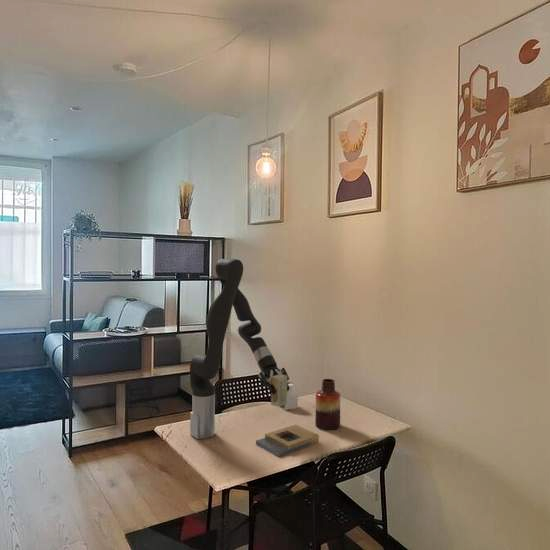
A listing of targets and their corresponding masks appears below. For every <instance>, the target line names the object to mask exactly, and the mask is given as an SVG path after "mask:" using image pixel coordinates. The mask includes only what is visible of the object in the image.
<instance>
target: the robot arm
mask: <svg viewBox="0 0 550 550" xmlns="http://www.w3.org/2000/svg"><path fill="white" fill-rule="evenodd" d="M214 268H215V273H216V277H217V278H218V280H219V283H220V284H221V285H222V286H223V287H222V290H221V291H220V293H219V294H218V295H217V296H216V298H215V299H214V300H213V302H212V303H211V304H210V307H209V309H208V312H207V316H206V320H205V328H206V335H207V337H208V345H207V351H206V354H202V353H198V354H196V355H194V356H193V357H191V358H192V359H191V360H190V364H189V381H190V382H189V383H190V389H191V390H192V394H191V395H192V401H191V403H192V407H191V408H192V409H191V410H192V411H190V416H189V417H190V418H189V421H190V423H189V425H190V427H189V433H190V436H192V437H193V438H195V439H197V440H200V439H203V440H204V439H210V438H212V437H214V436H215V431H216V430H215V429H216V428H215V426H216V425H215V424H216V422H215V421H216V417H215V416H216V415H215V413H216V412H215V411H216V387H215V385H214V384H212V382H211V380H213V379H214V378H215V377H216V376H217V375H218V373H219V369H220V366H221V358H222V353H223V346H224V342H225V337H226V333H227V332H226V331H227V329H228V326H229V321H230V318H231V314H232V308H233V309H234V312H235V316H236V318H237V320H238V321H239V322H244V323H242V324H241V325H239V326H238V327H237V328H238V329H237V332H238V335H239V336H240V338H241V339H242V340H243V341H244V342H245V343H246V344H247V345H248V346H249V348H250V350H251V352H252V354H253V357H254V359H255V361H256V364H257V365H258V367H259V369H260V372H259V373H258V375H257V379H259V381H260V383H261V385H262V386H263V388H265V387H267V388H268V390H269V391H270V394H271V393H272V394H273V395H274V394H276V390H275V388H274V386H273V385H272V382H271V377H272V376H275V375H278V374H282V375H287V382H288V381H289V380H290V377H289V375H288V372H287V371H286V368H285V367H282V368H279V367H278V363H277V362H276V359H275V358H274V355H273V353H272V352H271V350H270V349H269V348H268V347H269V346H268V345H267V344H266V342H265V340H264V338H263V337H260V336H257V335H260V333H261V332H262V326H261V324H260V322H259V321H258V320H257V318H256V317H255V316H254V314H253V311H252V309H251V308H252V307H251V305H250V302H249V301H248V299H247V297H246V296H245V294H244V293H243V292H242V291H241V290H240V289H239V287H240V286H239V285H240V284H241V280H242V277H243V276H244V275H243V274H244V264H243V262H242V261H241V260H240V259H237V258H221V259H218V261H217V262H216V264H215V267H214ZM255 336H257V337H255ZM289 389H290V387H289V385H288V383H287V391H289Z"/></svg>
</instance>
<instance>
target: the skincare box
mask: <svg viewBox="0 0 550 550" xmlns="http://www.w3.org/2000/svg"><path fill="white" fill-rule="evenodd" d="M287 375H288V374H287ZM287 375H282V374H278V375H275V376H272V377H271V382H272V385H273V386H274V388H275V390H276V394H274V395H273V394H272V393H271V392H270V405H271V406H275V407H276V408H279V407H280V406H282V405H284V404H286V403H287V382H288V381H287Z"/></svg>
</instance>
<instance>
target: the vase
mask: <svg viewBox="0 0 550 550" xmlns="http://www.w3.org/2000/svg"><path fill="white" fill-rule="evenodd" d="M335 381H336V380H334V379H332V378H323V379H322V382H321V389H320V390H318V391H316V393H315V423H314V424H315V427H316V428H317V429H318V430H319V429H320V430H321V431H322V430H323V431H327V432H328V431H330V432H331V431H337V430H339V429H340V427H341V398H342V397H341V393H340V392H339V391H337V390H336V384H335V383H336V382H335Z"/></svg>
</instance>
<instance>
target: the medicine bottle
mask: <svg viewBox="0 0 550 550" xmlns="http://www.w3.org/2000/svg"><path fill="white" fill-rule="evenodd" d="M287 383H288V385H289V387H290V389H289V391H287V403H286V404H284V405H282V406H279V407H280V408H281V409H282V408H283V409H282V410H284V411H287V410H288V409H290V410H297V409H298V400H299V399H298V398H299V397H298V396H299V395H298V393H297V392H295V384H294V383H293V382H290V381H289V382H288V381H287ZM288 411H289V410H288Z"/></svg>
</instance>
